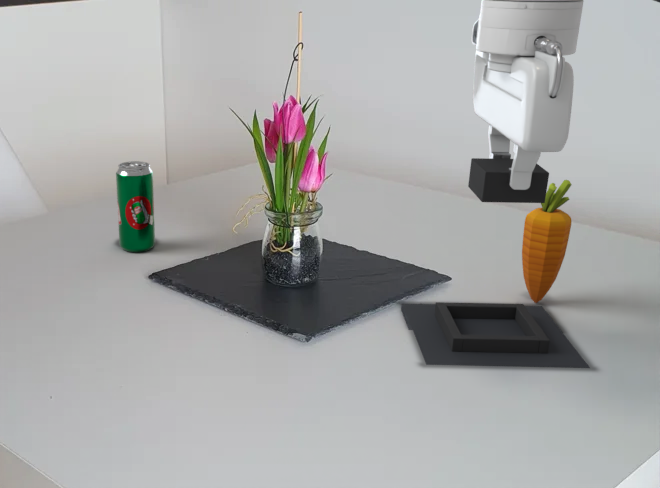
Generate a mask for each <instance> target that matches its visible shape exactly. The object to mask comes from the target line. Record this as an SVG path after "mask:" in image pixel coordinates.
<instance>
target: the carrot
mask: <svg viewBox="0 0 660 488" xmlns="http://www.w3.org/2000/svg"><path fill="white" fill-rule="evenodd" d="M572 186H573V185H572V183H571V181H570V180H568V179H564V180H563V181H562V183H561V184H560V185H559V186H558V187H557V186H556V183H555V182H552V183H550V184H549V185H548V188H547V191H546V198H545V203H540V205H541V207H537V208H535V209H533V210H531V211H530V212H528V213H526V216H525V219H524V227H523V234H522V247H521V261H522V275H523V280H524V283H525V287H526V290H527V293H528V295H529V297H530V300H531V301H533V303H534V304H538V303H540V301H542V300H543V299H544V297H545V296H546V295H547V293H548V292H549V291H550V290H551V288H552V286H553V285H554V283H555V281H556V280H557V278H558V275H559V272H560V270H561V267H562V264H563V262H564V259H565V256H566V252H567V247H568V244H569V238H570V232H571V227H572V217H571V216H570V215H569V213H567V212H565V211H563V210H562V209H559V208H560V207H561V206H563V205H565V204H566V203H567V202H568V201H569V200H570V198H569V196H565V194H567V192H568V191H569V190H570V188H571V187H572Z"/></svg>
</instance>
